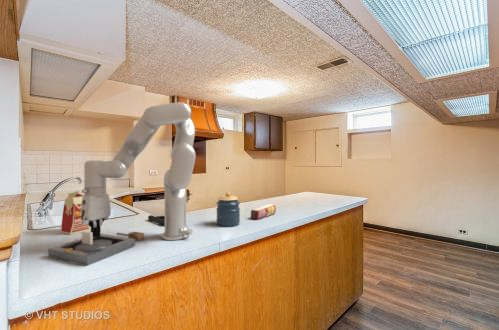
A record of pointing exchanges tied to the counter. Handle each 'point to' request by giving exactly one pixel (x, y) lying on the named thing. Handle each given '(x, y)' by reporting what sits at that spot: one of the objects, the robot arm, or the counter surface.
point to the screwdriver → (134, 235)
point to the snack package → (263, 211)
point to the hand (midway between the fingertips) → (95, 236)
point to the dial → (91, 243)
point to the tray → (71, 255)
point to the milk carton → (73, 215)
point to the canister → (228, 211)
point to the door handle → (157, 219)
